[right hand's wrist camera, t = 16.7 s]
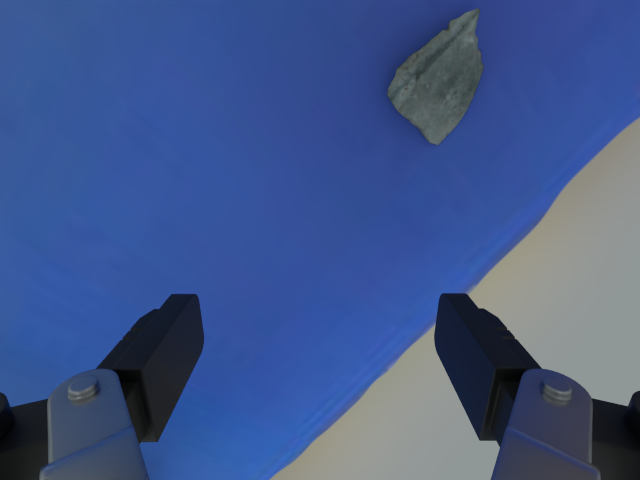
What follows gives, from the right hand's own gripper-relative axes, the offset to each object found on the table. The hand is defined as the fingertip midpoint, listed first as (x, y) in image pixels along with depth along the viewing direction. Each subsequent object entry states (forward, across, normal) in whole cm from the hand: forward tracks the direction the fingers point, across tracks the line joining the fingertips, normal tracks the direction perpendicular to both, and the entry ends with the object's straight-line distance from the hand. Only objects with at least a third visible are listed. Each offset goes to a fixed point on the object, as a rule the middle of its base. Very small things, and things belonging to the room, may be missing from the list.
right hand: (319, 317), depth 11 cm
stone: (+29, +12, +8) cm, 33 cm away
